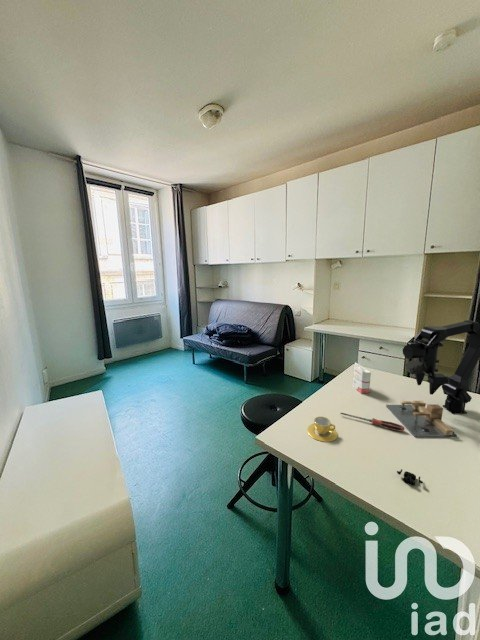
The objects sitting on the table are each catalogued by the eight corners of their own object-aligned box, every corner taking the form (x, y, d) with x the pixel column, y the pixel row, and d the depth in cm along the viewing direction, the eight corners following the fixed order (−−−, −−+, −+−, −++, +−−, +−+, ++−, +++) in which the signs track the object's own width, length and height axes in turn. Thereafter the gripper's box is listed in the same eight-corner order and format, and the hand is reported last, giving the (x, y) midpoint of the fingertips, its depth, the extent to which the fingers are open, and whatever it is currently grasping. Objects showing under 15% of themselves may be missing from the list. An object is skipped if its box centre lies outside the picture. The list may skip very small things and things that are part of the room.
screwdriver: (339, 417, 116) (339, 411, 115) (340, 414, 118) (340, 408, 117) (404, 434, 103) (405, 427, 102) (404, 430, 106) (404, 423, 105)
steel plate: (420, 406, 122) (421, 404, 121) (456, 437, 100) (457, 434, 100) (386, 406, 123) (386, 404, 122) (414, 437, 101) (414, 434, 101)
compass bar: (419, 404, 121) (420, 398, 121) (455, 434, 100) (456, 427, 99) (396, 404, 122) (397, 398, 121) (427, 434, 101) (428, 427, 100)
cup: (305, 438, 103) (305, 426, 102) (308, 421, 114) (309, 410, 112) (337, 445, 98) (338, 433, 97) (337, 426, 109) (338, 415, 108)
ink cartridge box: (369, 393, 136) (372, 367, 132) (361, 393, 135) (362, 367, 132) (360, 385, 144) (362, 361, 141) (352, 386, 143) (353, 361, 140)
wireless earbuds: (423, 477, 81) (422, 483, 77) (422, 485, 81) (421, 491, 77) (398, 467, 86) (396, 471, 82) (397, 474, 86) (394, 479, 82)
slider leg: (436, 418, 110) (438, 404, 109) (441, 422, 107) (443, 408, 106) (411, 418, 111) (412, 404, 110) (415, 422, 108) (417, 408, 107)
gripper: (397, 349, 120) (394, 380, 123) (422, 365, 102) (418, 401, 105) (422, 349, 119) (419, 380, 123) (452, 364, 101) (447, 400, 104)
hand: (424, 389), depth 114 cm, fingers open, 8 cm apart
